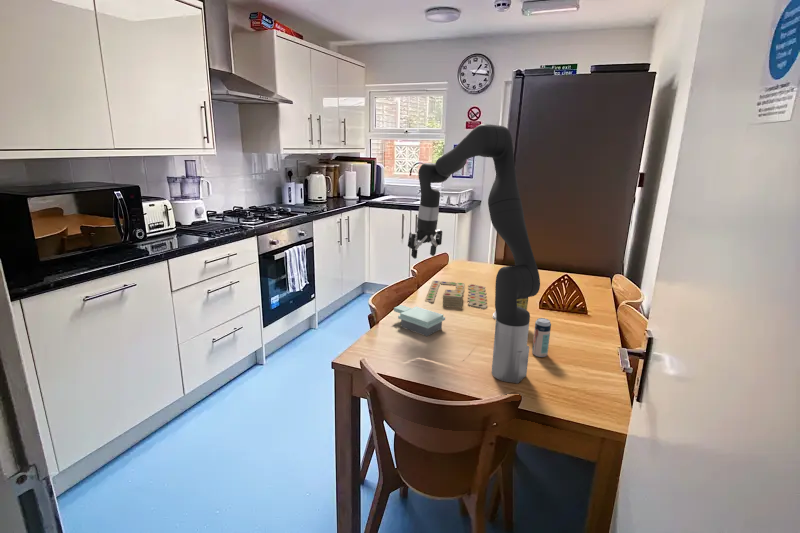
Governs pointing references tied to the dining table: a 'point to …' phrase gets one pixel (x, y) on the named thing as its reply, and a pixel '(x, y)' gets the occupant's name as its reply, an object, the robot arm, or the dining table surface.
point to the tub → (421, 328)
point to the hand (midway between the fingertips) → (423, 256)
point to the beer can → (541, 337)
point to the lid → (419, 316)
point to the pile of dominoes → (458, 295)
